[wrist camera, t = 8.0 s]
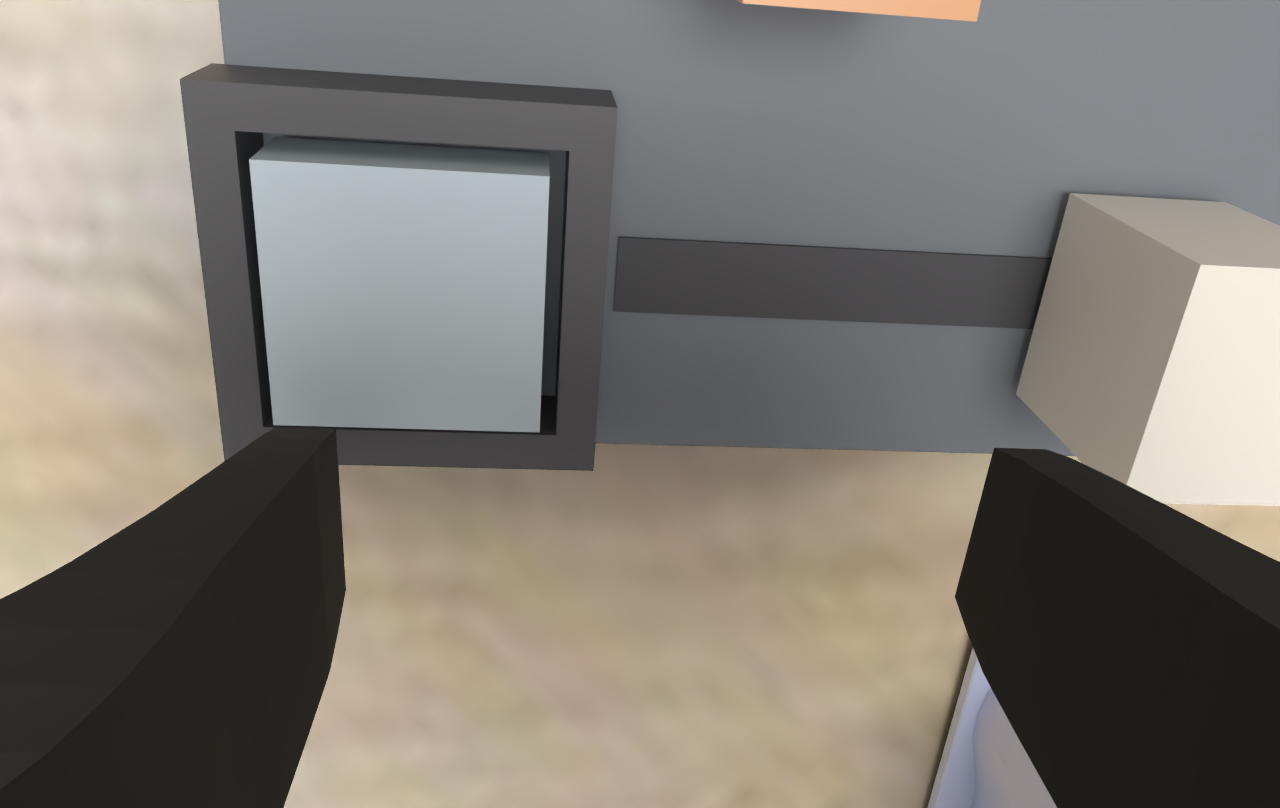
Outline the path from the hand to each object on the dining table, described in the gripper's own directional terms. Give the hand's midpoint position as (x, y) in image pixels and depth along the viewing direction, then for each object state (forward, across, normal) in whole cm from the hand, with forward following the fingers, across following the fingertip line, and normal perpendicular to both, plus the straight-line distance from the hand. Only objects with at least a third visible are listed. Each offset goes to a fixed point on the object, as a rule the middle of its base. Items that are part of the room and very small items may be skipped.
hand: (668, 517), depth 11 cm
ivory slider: (+8, -9, 0) cm, 12 cm away
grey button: (+8, +4, 0) cm, 8 cm away
